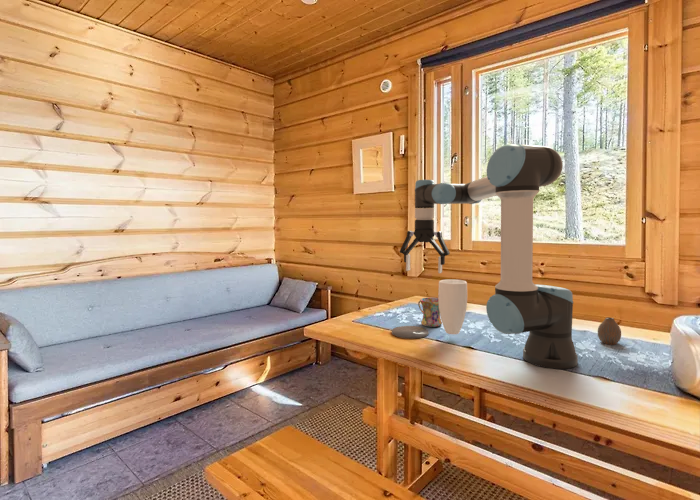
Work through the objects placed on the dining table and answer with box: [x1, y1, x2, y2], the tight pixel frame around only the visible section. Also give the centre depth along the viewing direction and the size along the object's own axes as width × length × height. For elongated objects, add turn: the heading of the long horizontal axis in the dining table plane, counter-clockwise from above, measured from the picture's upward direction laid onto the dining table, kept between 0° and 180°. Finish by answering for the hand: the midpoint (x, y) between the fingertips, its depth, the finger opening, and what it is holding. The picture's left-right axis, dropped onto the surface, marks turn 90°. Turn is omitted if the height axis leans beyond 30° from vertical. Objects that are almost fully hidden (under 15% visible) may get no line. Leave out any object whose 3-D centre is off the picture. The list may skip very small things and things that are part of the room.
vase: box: [597, 317, 622, 346], centre depth 140 cm, size 7×7×9 cm
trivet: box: [391, 325, 429, 340], centre depth 156 cm, size 14×14×1 cm
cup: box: [437, 278, 468, 335], centre depth 146 cm, size 10×10×22 cm
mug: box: [417, 297, 443, 328], centre depth 168 cm, size 12×9×11 cm
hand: (423, 271), depth 165 cm, fingers open, 13 cm apart
